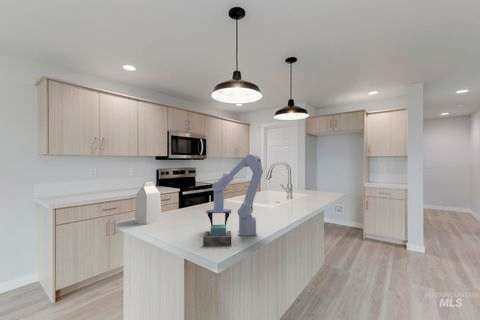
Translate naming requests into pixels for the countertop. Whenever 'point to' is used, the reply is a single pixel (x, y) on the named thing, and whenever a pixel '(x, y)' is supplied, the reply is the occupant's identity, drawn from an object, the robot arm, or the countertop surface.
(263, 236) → the countertop surface
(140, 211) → the milk
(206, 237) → the guide lane
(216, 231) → the block
